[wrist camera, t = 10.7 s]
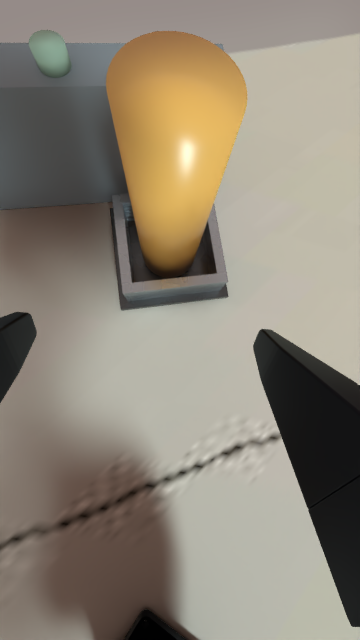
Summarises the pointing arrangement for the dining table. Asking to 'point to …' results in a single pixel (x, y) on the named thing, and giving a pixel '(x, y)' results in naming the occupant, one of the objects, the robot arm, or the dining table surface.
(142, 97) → the peg
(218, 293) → the box
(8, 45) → the block
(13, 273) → the dining table surface
